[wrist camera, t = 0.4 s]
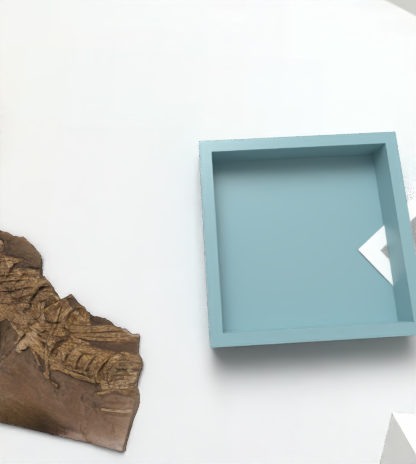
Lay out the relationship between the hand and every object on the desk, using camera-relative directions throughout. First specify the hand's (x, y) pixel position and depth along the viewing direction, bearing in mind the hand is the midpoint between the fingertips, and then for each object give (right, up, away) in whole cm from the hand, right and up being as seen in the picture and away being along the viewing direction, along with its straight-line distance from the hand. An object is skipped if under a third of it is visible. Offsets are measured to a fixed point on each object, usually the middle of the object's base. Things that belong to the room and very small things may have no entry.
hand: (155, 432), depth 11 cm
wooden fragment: (-14, 0, +16) cm, 21 cm away
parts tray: (+8, +5, +16) cm, 19 cm away
